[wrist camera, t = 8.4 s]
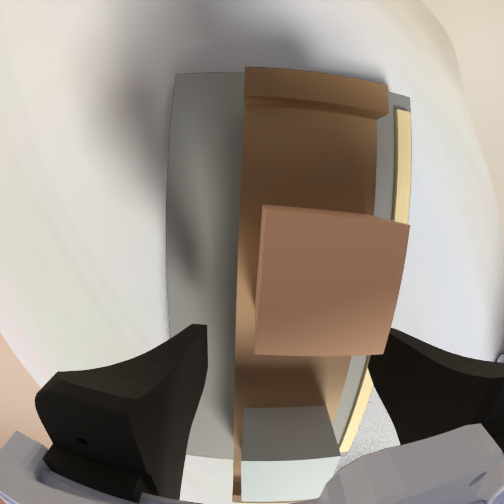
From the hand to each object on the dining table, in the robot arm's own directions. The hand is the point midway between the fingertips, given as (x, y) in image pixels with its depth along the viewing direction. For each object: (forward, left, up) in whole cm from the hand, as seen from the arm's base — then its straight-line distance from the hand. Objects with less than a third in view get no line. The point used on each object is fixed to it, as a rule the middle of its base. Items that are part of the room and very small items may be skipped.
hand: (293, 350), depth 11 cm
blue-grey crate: (0, +4, +1) cm, 4 cm away
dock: (0, 0, -5) cm, 5 cm away
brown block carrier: (0, 0, -3) cm, 3 cm away
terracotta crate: (0, -4, +1) cm, 4 cm away
